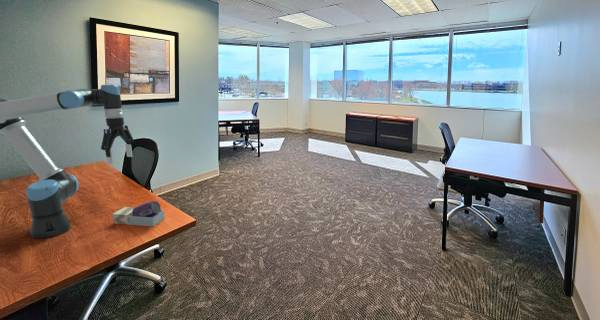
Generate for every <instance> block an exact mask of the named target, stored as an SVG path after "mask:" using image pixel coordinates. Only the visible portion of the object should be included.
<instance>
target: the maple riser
mask: <svg viewBox="0 0 600 320" xmlns="http://www.w3.org/2000/svg"><path fill="white" fill-rule="evenodd" d="M134 208H135V206H134V207H131V206H130V207H129V206H124V207H123V208H121V209H119V210H117V211H116V212H113V213H112V220H113V224H116V225H117V224H119V225H120V224H121V225H129V218H128V216H133V214H132V211H133V209H134Z"/></svg>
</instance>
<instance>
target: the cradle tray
mask: <svg viewBox="0 0 600 320" xmlns="http://www.w3.org/2000/svg"><path fill="white" fill-rule="evenodd" d="M128 218H129V224H128V225H132V226H133V225H134V226H143V227H144V226H146V227H155V226H156V225H158V224H159V223H160V222H162V221H164V220H165V218H166V216H165V210H164V209H161V210H160V212H159V213H157V214H156V215H154V216H151V217H139V216H128Z"/></svg>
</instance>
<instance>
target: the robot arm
mask: <svg viewBox="0 0 600 320" xmlns="http://www.w3.org/2000/svg"><path fill="white" fill-rule="evenodd" d="M89 106H103V109H104V116H105V122H106V126H107V127H108V128H103V136H102V137H103V138H102V142H101V147H100V150H102V151H105V156H106V159H107V164H114V163H115V160H114V155H113V149H112V147H113V144H114V142H115V139H116V138H118V137H120V138H121V139H122V140H123V142H124V143H125V144H124V145H125V152H126V157H127V158H133V147H132V145H133V144H134V143H135V139H134V138H133V136H132V134H131V132H130V129H129V127H128V125H126V124H125V120H124V117H123V116H124V115H123V114H124V113H123V106H122V97H121V93H120V87H119V85H118V84H101V85H100V88H96V89H94V88H92V89H91V88H80V89H68V90H64V91H59V92H54V93H48V94H42V95H36V96H28V97H23V98H18V99H13V100H11V99H3V98H0V135H4V136H5V137H6V139H7V140H8V142H10V143H11V145H12V146H13V147H14V149H15V150H16V151H17V152H18V153H19V155H20V156H21V157H22V158H23V160H24V161H25V162H26V163H27V164H28V165H29V167H30V168H31V169H32V171H33V172H34V174H36V176H37V178H38V181H36V182H35V181H34V182H33V183H31V184H29V185H28V186H27V187H26V190H25V191H26V198H27V201H28V207H29V210H30V214H31V218H32V219H31V225H30V229H29V234H30V236H31V238H33V239H43V238H45V239H46V238H51V237H54V236H55V237H56V236H58V235H59V236H60V235H62V234H64V233H66V232H68V231H69V230H70V229H71V227H72V224H71V221H70V220H69V218H68V217H67V215H66V213H64V209H63V208H64V207H63V202H65V201H66V200H68V199H69V198H72V197H73V196H74V195H75V194H76V193H77V192H78V190H79V186H80V183H79V180H78V178H77V176H75V175H73V174H70V173H67V171H65V169H64V168H60V167H58V165H56V164H55V162H54V161H53V160H52V158H51V157H50V156H49V155H48V154H47V152H46V151H45V150H44V148H43V147H42V146H41V145H40V143H39V142H38V140H37V139H36V138H35V137H34V136H33V135H32V133H31V132H30V130H29V129H28V127H26V122H27V121H26V119H25V117H26V118H27V117H31V116H35V115H36V116H38V115H41V114H42V115H43V114H48V113H54V112H60V111H64V110H72V109H78V108H83V107H89Z"/></svg>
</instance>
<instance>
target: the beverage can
mask: <svg viewBox="0 0 600 320" xmlns="http://www.w3.org/2000/svg"><path fill="white" fill-rule="evenodd" d="M160 210H162V207H161V204H160V203H159V201H157V200H154V201H153V200H151V201H148V202H145V203H143V204H140V205H138V206H134V209H133V211H132V214H133V216H139V217H151V216H154V215H156V214H157V213H159V212H160Z"/></svg>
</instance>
